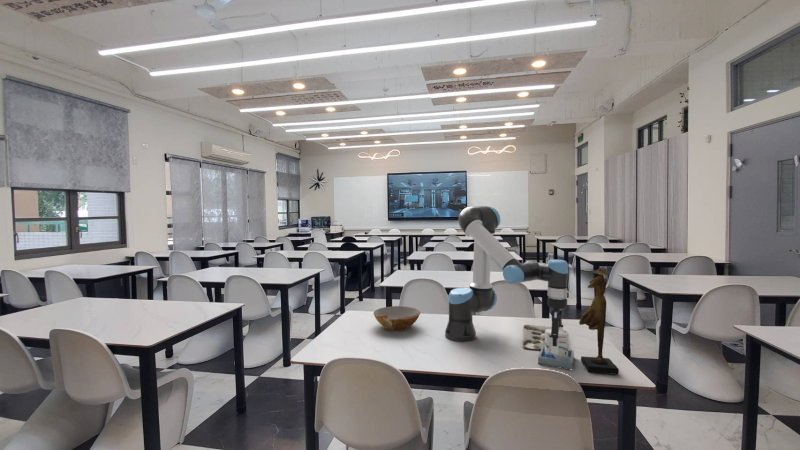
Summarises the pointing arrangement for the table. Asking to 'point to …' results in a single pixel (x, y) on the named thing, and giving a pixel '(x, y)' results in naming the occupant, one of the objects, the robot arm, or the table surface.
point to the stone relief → (535, 336)
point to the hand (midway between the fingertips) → (556, 347)
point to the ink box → (562, 345)
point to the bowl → (396, 317)
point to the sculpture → (598, 326)
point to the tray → (556, 360)
